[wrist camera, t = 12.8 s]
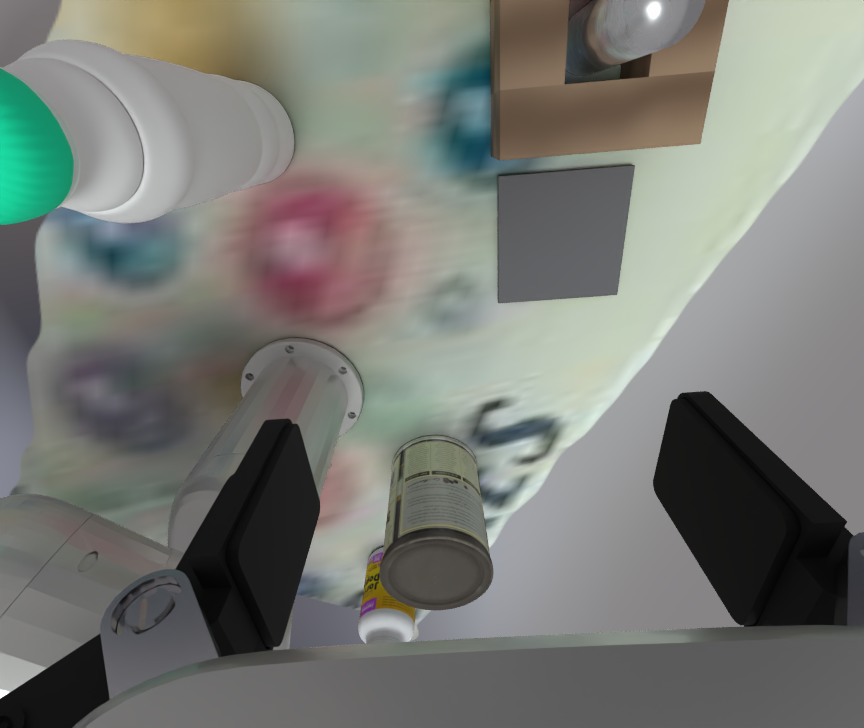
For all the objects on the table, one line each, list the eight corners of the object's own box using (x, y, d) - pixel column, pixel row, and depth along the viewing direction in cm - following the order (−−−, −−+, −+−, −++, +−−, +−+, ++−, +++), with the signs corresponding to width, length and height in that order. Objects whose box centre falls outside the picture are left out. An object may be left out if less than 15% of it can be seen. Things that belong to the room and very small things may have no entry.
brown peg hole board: (666, 141, 35) (700, 143, 30) (491, 156, 35) (500, 160, 31) (705, -101, 28) (757, -144, 23) (489, -79, 28) (500, -117, 24)
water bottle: (189, 136, 34) (-239, 149, 12) (237, 58, 32) (-192, -98, 10) (265, 201, 37) (17, 308, 15) (314, 133, 34) (106, 140, 12)
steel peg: (610, 73, 32) (697, 46, 22) (556, 78, 32) (617, 53, 22) (617, 5, 30) (716, -60, 20) (560, 11, 31) (629, -52, 20)
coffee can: (486, 490, 53) (503, 601, 40) (406, 506, 54) (398, 618, 42) (467, 425, 48) (480, 528, 36) (379, 444, 49) (362, 550, 37)
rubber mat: (614, 292, 41) (617, 294, 40) (497, 301, 41) (498, 303, 40) (631, 164, 35) (634, 165, 35) (497, 176, 36) (498, 176, 35)
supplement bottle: (380, 537, 57) (367, 638, 46) (425, 552, 58) (423, 654, 47) (360, 567, 60) (344, 669, 48) (404, 580, 61) (397, 682, 50)
